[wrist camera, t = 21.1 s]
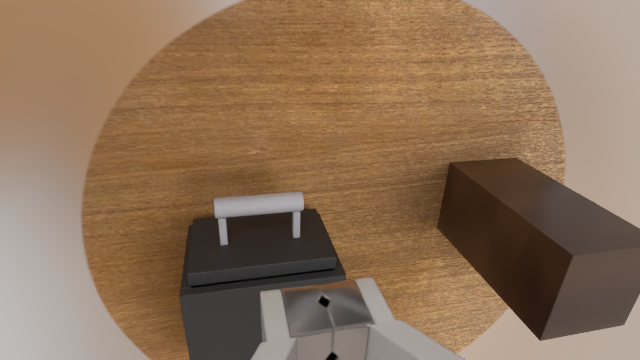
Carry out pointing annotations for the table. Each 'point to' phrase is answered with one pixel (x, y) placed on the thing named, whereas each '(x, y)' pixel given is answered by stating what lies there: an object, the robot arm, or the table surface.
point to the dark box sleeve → (234, 310)
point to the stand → (542, 246)
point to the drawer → (258, 240)
